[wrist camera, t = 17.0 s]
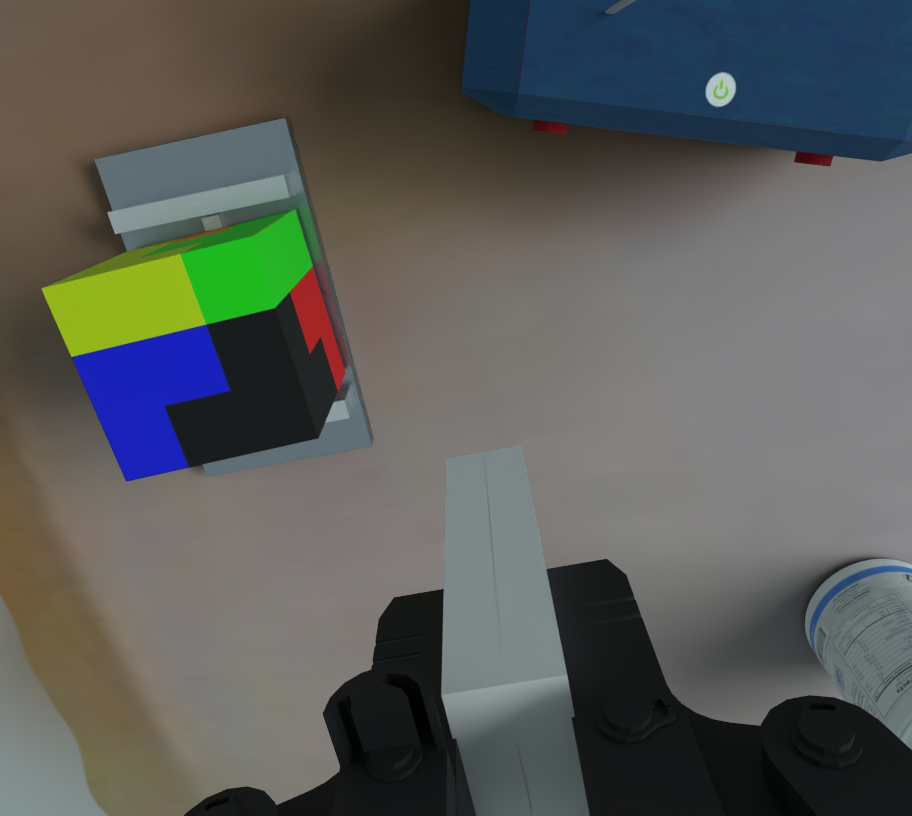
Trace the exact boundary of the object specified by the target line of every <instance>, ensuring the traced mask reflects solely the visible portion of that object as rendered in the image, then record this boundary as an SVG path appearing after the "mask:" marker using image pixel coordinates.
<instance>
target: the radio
mask: <svg viewBox="0 0 912 816" xmlns="http://www.w3.org/2000/svg"><path fill="white" fill-rule="evenodd" d="M460 93H462V94H464V95H465V96H467V97H469V98H471V99H472V100H474V101H476V102H478V103H479V104H481V105H483V106H485V107H486V108H488V109H490V110H492V111H493V112H495V113H497V114H498V115H500V116H506V117H515V118H523V119H531V120H534V121H533V128H532V131H538V132H546V133H555V134H564V135H566V133H567V127H568V124H573V125H581V126H589V127H597V128H606V129H614V130H622V131H631V132H639V133H647V134H656V135H664V136H672V137H680V138H689V139H697V140H705V141H714V142H722V143H730V144H738V145H747V146H755V147H763V148H772V149H780V150H788V151H796V156H795V160H794V162H796V163H804V164H813V165H822V166H831V162H832V158H833V156H839V157H847V158H856V159H864V160H873V161H884V160H888V159H892V158H896V157H899V156H903V155H907V154H910V153H912V0H470V6H469V15H468V25H467V34H466V43H465V53H464V62H463V72H462V81H461V91H460Z"/></svg>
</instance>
